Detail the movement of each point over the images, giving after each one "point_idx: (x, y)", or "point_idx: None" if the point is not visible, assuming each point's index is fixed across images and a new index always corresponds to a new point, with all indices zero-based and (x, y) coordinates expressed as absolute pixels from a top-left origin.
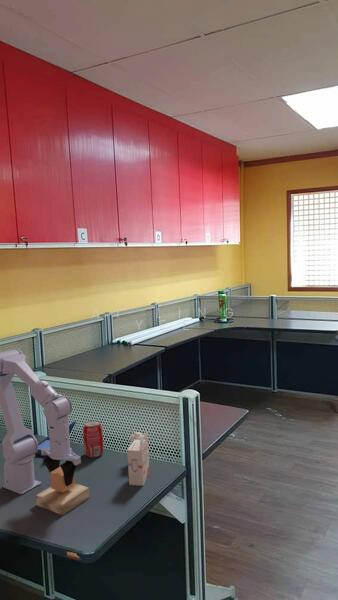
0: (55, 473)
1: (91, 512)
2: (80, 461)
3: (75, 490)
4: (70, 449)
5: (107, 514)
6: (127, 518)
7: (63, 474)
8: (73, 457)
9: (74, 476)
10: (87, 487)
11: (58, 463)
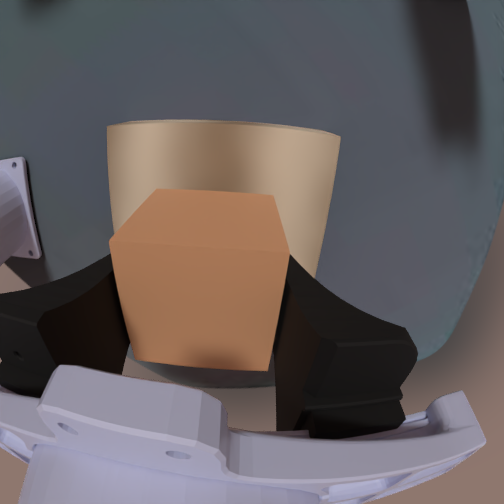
0: (187, 361)
1: (393, 233)
2: (465, 405)
3: (280, 196)
4: (222, 471)
5: (447, 221)
6: (496, 217)
7: (260, 353)
8: (412, 476)
9: (280, 221)
10: (328, 136)
11: (96, 304)
